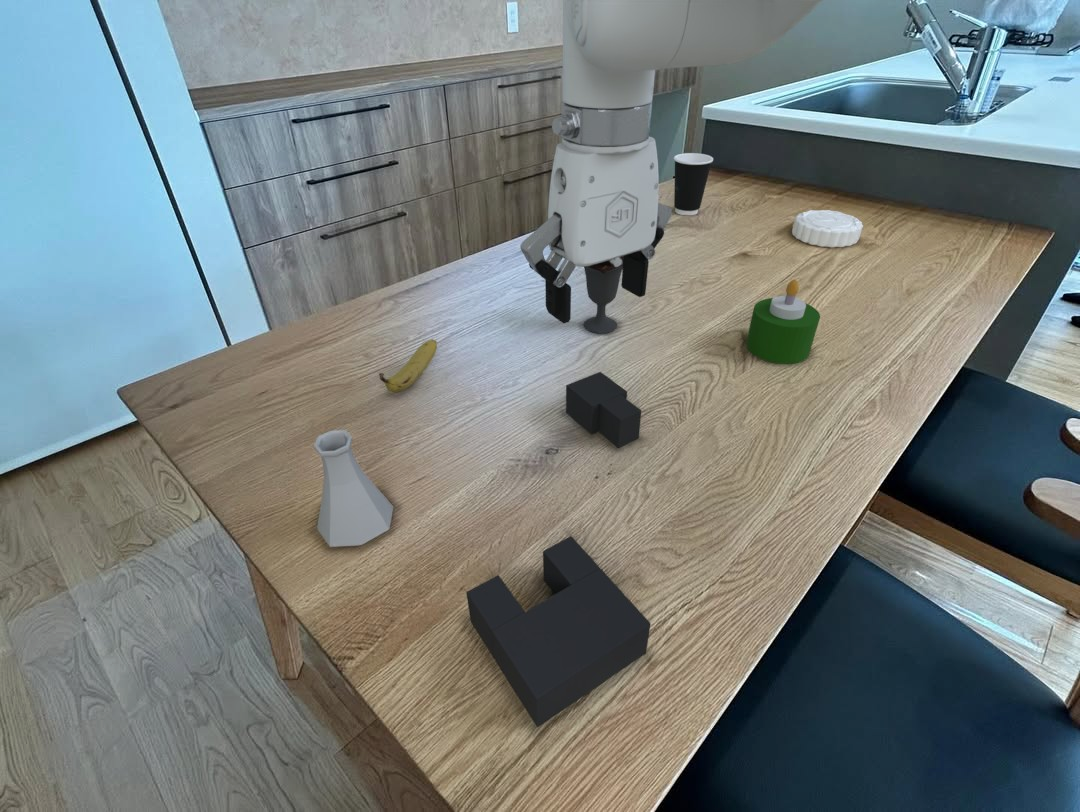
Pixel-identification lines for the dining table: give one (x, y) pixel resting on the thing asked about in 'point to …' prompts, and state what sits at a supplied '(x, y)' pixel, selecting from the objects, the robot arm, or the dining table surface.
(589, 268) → the sundae
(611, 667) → the notch pad
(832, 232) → the mooncake
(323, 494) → the flask
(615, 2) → the robot arm
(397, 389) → the banana
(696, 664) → the dining table surface
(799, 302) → the candle
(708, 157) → the dixie cup
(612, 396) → the pad
